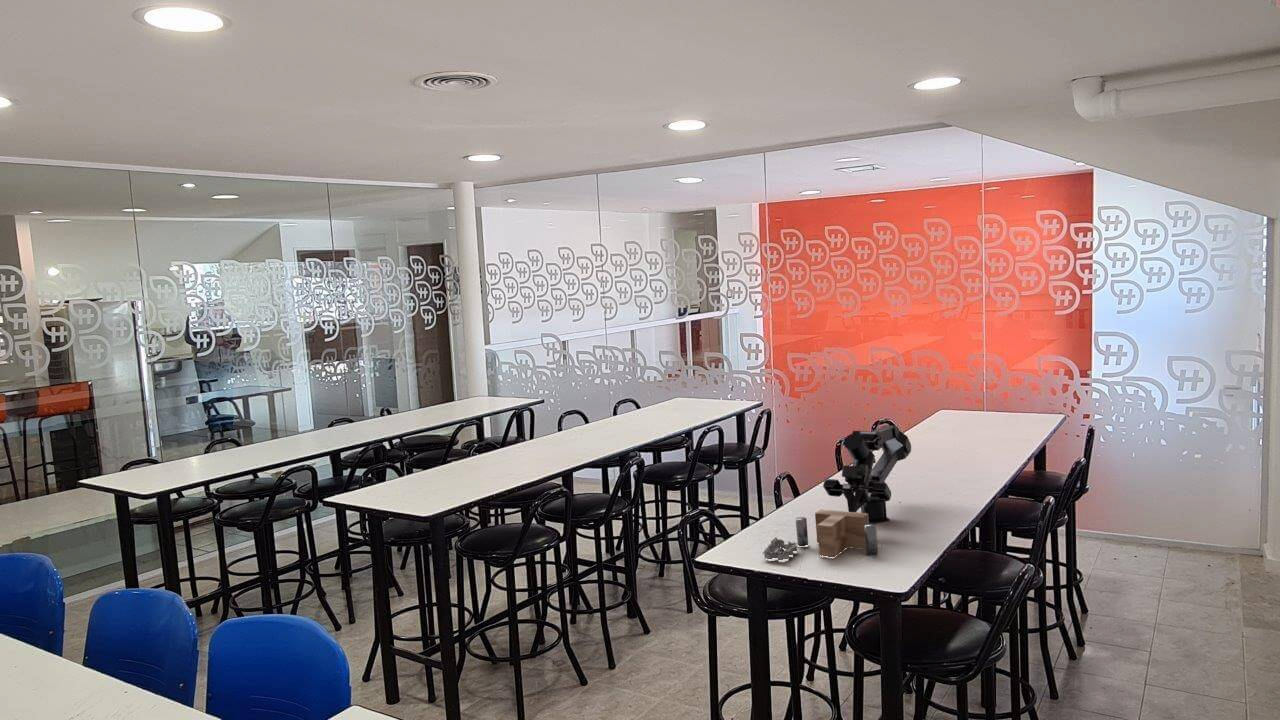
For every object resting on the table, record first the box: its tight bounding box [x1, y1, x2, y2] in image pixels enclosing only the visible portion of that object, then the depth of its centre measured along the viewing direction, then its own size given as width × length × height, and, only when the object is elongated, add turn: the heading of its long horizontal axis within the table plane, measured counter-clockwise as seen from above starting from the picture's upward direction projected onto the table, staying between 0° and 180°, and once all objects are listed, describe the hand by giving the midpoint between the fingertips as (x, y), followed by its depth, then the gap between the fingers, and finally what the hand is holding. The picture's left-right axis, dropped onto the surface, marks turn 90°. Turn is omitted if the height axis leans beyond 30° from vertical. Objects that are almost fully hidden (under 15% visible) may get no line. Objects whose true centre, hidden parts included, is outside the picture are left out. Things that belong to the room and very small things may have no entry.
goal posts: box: [795, 516, 879, 556], centre depth 234 cm, size 3×23×8 cm, turn 55°
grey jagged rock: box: [762, 536, 798, 560], centre depth 234 cm, size 11×8×4 cm
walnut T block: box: [814, 509, 869, 557], centre depth 234 cm, size 14×14×9 cm
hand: (850, 515), depth 243 cm, fingers closed
